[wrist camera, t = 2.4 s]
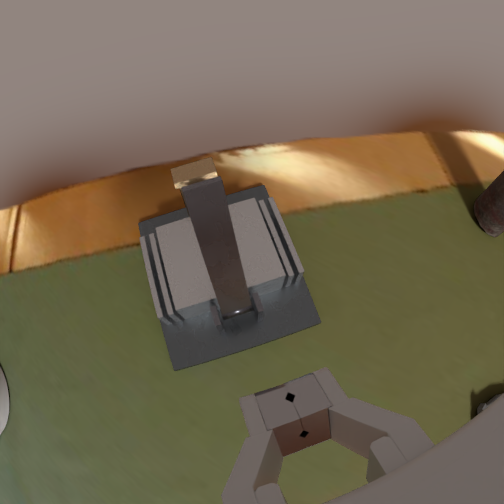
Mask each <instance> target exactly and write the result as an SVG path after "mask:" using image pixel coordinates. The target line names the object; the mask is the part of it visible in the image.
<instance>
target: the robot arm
mask: <svg viewBox="0 0 504 504" xmlns="http://www.w3.org/2000/svg"><path fill="white" fill-rule="evenodd" d="M254 394H255V395H254ZM254 394H251V395H248V396H245V397H241V398H239V402H240V406H241V409H242V412H243V416H244V419H245V422H246V425H247V428H248V432H249V435H250V437H247V438H245V441H244V443H243V446H242V448H241V451H240V453H239V455H238V458H237V460H236V463H235V465H234V467H233V470H232V472H231V474H230V477H229V479H228V481H227V484H226V486H225V488H224V490H223V493H222V495H221V496H222V501H223V504H288V503H287V501H286V499H285V497H284V495H283V493H282V491H281V489H280V487H279V485H278V484H277V481H278V477H279V474H280V470H281V466H282V462H283V457H285V456H287V455H290V454H292V453H295V452H298V451H300V450H303V449H305V448H308V447H310V446H313V445H316V444H318V443H321V442H324V441H326V440H329V439H331V438H332V440H333V441H335V442H337V443H339V444H341V445H342V446H344V447H346V448H348V449H350V450H352V451H354V452H355V453H357V454H359V455H361V456H363V457H365V458H367V459H369V460H368V468H367V475H366V479H367V481H368V484H366V485H364V486H362V487H360V488H357V489H355V490H353V491H351V492H349V493H346V494H344V495H342V496H339V497H337V498H335V499H332V500H330V501H327V502H325V503H322V504H504V393H503V394H502V395H501V396H500V397H498V398H497V399H496V400H495V401H494V402H493V403H491V404H490V405H489V406H488V407H487V408H485V409H484V410H483V411H482V412H481V413H479V414H478V415H477V416H475V417H474V418H473V419H472V420H470V421H469V422H468V423H466V424H465V425H464V426H462V427H461V428H460V429H458V430H457V431H455V432H454V433H453V434H451V435H450V436H448V437H447V438H445V439H444V440H442V441H441V442H440V443H438V444H436V445H434V444H433V442H432V441H431V440H430V439H429V437H428V436H427V435H426V434H425V432H424V431H423V430H422V429H421V427H420V426H419V425H418V424H417V422H416V421H415V420H414V419H413V418H410V417H406V416H403V415H400V414H398V413H395V412H392V411H389V410H386V409H383V408H380V407H378V406H375V405H372V404H369V403H367V402H364V401H361V400H358V399H356V398H350V399H348V397H347V396H346V394H345V393H344V391H343V390H342V388H341V387H340V385H339V384H338V382H337V381H336V379H335V378H334V376H333V375H332V373H331V372H330V370H329V369H328V368H327V367H325V368H322V369H320V370H317V371H315V372H312V373H309V374H307V375H304V376H302V377H299V378H297V379H294V380H292V381H289V382H286V383H284V384H282V385H279V386H276V387H273V388H270V389H267V390H264V391H260V392H257V393H254ZM255 397H256V398H255ZM8 415H9V393H8V387H7V383H6V380H5V377H4V374H3V371H2V369H1V367H0V435H1V433H2V431H3V430H4V428H5V426H6V423H7V420H8Z"/></svg>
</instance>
